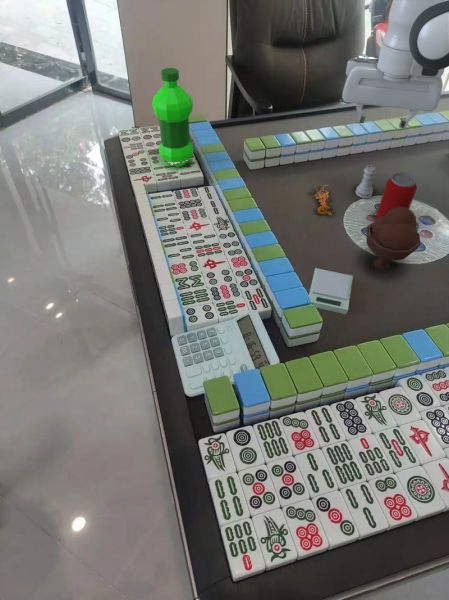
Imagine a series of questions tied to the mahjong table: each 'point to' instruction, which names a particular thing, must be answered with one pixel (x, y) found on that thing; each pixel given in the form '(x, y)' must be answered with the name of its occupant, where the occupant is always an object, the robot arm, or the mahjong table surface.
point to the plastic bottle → (173, 119)
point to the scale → (331, 290)
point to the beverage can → (397, 193)
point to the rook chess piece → (366, 183)
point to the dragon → (323, 200)
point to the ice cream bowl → (393, 236)
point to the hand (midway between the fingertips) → (381, 124)
